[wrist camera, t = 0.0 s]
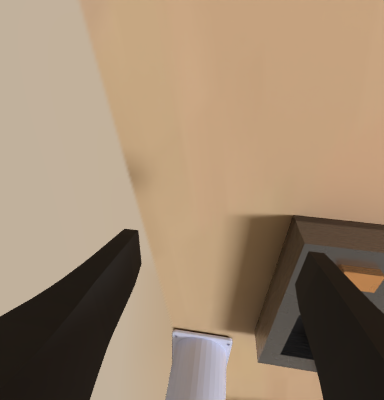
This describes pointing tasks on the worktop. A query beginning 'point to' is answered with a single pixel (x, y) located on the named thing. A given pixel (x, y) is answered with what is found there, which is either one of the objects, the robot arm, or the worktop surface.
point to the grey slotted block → (289, 271)
